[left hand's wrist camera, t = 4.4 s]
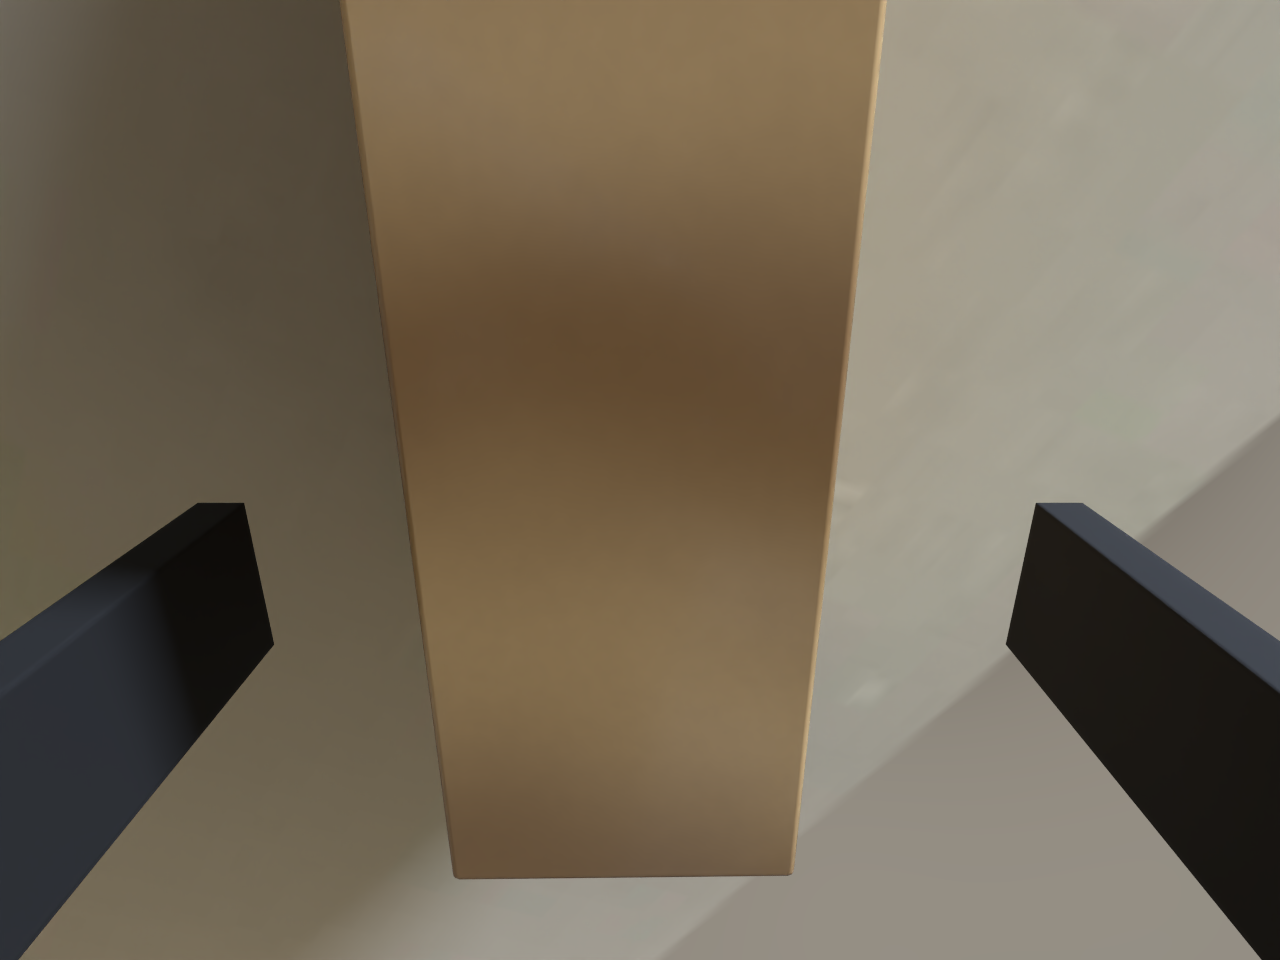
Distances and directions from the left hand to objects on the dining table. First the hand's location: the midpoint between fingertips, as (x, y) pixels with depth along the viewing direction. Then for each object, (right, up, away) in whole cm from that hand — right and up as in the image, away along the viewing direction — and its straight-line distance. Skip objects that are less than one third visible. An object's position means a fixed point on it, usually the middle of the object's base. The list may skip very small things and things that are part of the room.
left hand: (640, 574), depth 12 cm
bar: (0, +10, +2) cm, 10 cm away
